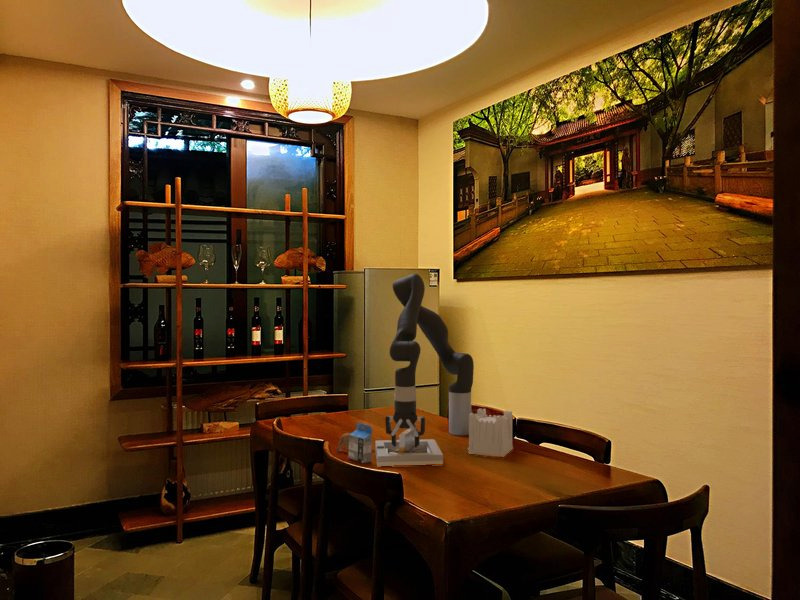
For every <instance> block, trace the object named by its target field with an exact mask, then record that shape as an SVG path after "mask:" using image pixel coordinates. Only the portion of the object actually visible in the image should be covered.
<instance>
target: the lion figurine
mask: <svg viewBox="0 0 800 600" xmlns="http://www.w3.org/2000/svg"><path fill="white" fill-rule="evenodd" d="M368 425H369V424H368ZM369 426H371V425H369ZM362 429H366V430H367V428H365V427H362ZM371 431H372V432H373V427H371ZM349 434H350V433H349V432H346V433H343V434H342V435H341V436H340V438H339V441H338V445H337V446H338V447H337V450H336V451H335V452H336V453H339V452H342V451H343V450H342V449H341V448H342V446H344V445H345V446H344V450H345V451H346V453H348V454H349Z"/></svg>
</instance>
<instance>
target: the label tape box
mask: <svg viewBox="0 0 800 600" xmlns="http://www.w3.org/2000/svg"><path fill="white" fill-rule="evenodd" d="M362 427H365V428H367V430H366V429H362ZM371 428H372V425H370V426H369V424H366V423H361V422H358V421H357V422H356V429H355V430H354V431H353V432H351V433H349V446H348V450H349V453H348V459H350V460H353V461H356V462H358V463H362V464H367V463H370V462H371V463H372V445H373V444H372V443H373V441H372V440H373V439H372V437H373V435H372V434H373V430H372V431H371Z"/></svg>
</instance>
